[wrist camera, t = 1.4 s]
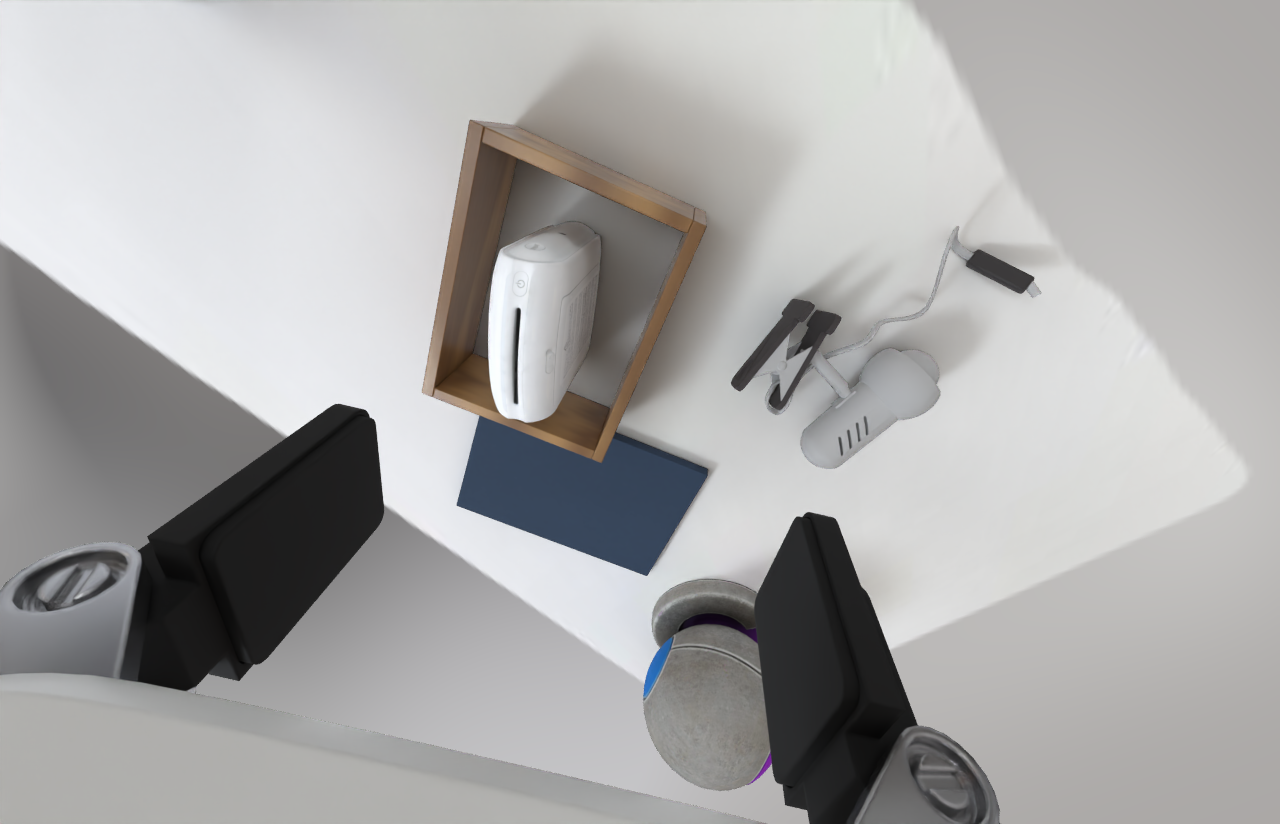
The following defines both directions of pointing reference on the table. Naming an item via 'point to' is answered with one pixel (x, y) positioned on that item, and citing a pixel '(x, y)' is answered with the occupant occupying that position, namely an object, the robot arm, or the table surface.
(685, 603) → the webcam
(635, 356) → the wooden box
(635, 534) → the mat
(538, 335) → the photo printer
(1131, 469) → the table surface
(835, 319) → the clip-on lamp
